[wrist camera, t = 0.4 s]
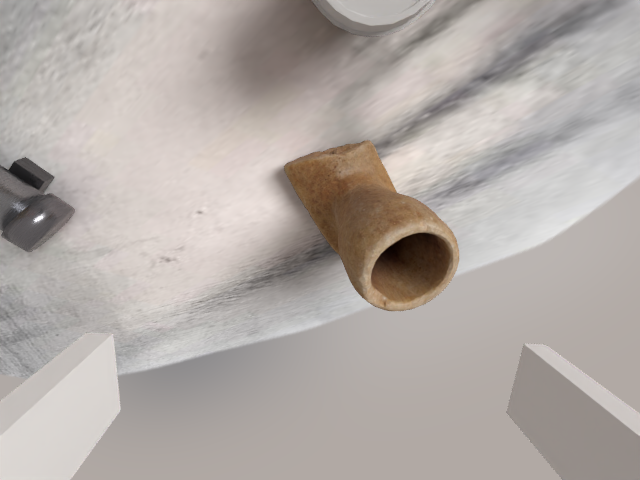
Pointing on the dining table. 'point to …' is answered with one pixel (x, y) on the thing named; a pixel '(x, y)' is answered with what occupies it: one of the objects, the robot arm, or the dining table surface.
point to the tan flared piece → (375, 227)
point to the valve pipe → (29, 205)
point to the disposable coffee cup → (373, 14)
